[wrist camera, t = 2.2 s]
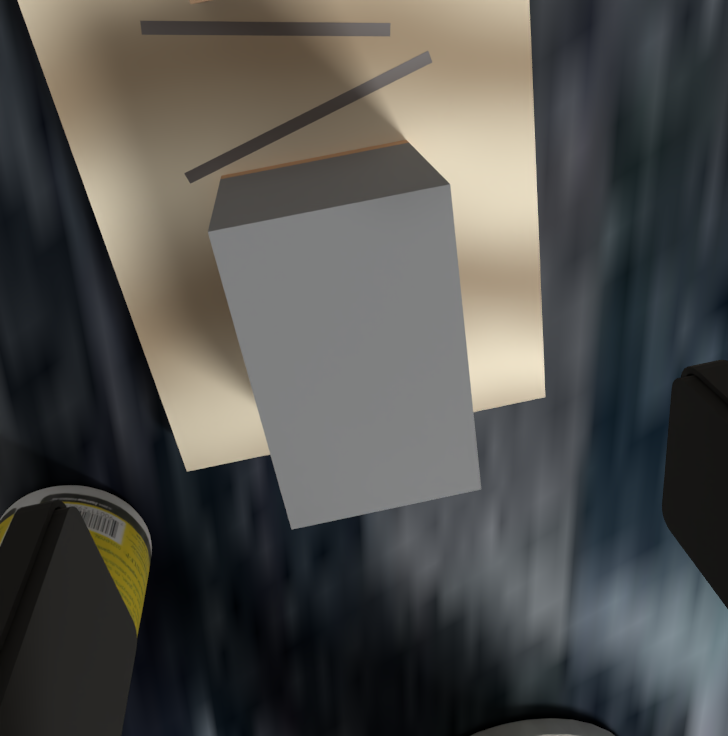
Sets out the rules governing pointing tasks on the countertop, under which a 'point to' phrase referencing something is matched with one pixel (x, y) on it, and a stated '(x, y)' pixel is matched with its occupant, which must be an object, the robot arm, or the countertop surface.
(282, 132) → the birch board
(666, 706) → the countertop surface
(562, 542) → the countertop surface
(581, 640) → the countertop surface
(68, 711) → the robot arm
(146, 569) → the supplement bottle
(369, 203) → the block
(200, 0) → the walnut offcut
